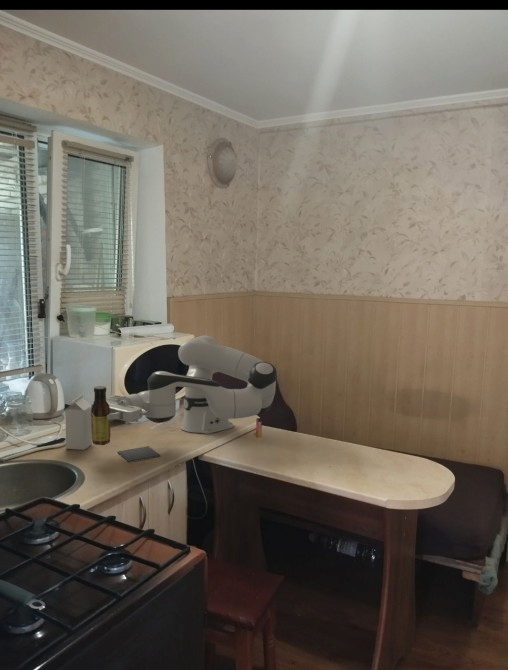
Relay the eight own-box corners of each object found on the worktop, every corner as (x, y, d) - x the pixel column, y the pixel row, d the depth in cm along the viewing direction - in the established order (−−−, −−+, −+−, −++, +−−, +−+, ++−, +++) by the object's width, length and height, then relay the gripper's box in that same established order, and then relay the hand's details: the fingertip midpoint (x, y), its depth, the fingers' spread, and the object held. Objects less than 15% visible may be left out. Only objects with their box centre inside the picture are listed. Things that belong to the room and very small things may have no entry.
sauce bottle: (96, 439, 192) (96, 384, 190) (113, 441, 191) (113, 385, 188) (88, 445, 186) (87, 388, 183) (105, 447, 185) (104, 389, 182)
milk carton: (92, 444, 208) (91, 395, 205) (84, 450, 201) (83, 399, 198) (74, 443, 208) (73, 394, 206) (65, 449, 201) (65, 398, 199)
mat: (148, 447, 205) (148, 446, 205) (160, 456, 196) (160, 454, 196) (117, 452, 199) (117, 451, 199) (128, 462, 190) (128, 460, 190)
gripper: (149, 420, 193) (120, 430, 181) (109, 411, 204) (79, 419, 192) (149, 403, 192) (120, 411, 180) (109, 394, 203) (79, 401, 191)
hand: (98, 415), depth 186 cm, fingers closed on sauce bottle, 6 cm apart
